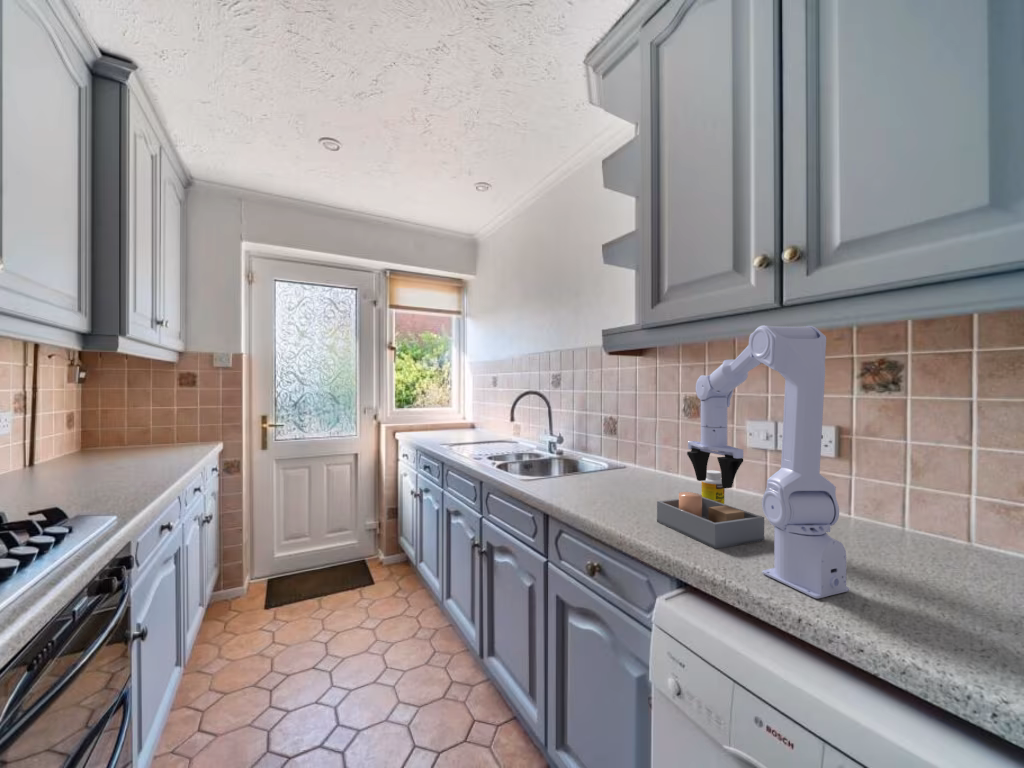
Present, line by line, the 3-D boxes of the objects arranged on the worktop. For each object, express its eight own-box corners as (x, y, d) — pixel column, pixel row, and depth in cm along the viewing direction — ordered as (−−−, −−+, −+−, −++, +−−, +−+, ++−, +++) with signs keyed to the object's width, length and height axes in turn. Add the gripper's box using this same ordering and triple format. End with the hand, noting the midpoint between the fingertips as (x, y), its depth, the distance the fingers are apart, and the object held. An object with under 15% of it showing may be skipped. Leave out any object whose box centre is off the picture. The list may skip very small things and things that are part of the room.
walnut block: (744, 534, 90) (744, 511, 90) (726, 537, 88) (726, 513, 88) (725, 527, 94) (725, 505, 94) (708, 529, 93) (708, 507, 93)
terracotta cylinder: (706, 527, 94) (707, 496, 94) (689, 529, 93) (689, 498, 93) (690, 520, 99) (691, 491, 99) (673, 522, 97) (674, 492, 98)
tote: (764, 540, 88) (764, 517, 88) (715, 549, 83) (715, 524, 83) (700, 516, 104) (701, 496, 104) (657, 521, 100) (657, 501, 100)
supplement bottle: (717, 514, 106) (717, 474, 106) (697, 508, 111) (697, 470, 111) (728, 510, 109) (728, 472, 109) (708, 505, 114) (708, 468, 114)
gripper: (678, 424, 103) (678, 478, 103) (726, 430, 89) (726, 492, 89) (700, 423, 105) (700, 476, 105) (750, 429, 91) (750, 490, 91)
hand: (713, 484), depth 97 cm, fingers open, 7 cm apart
